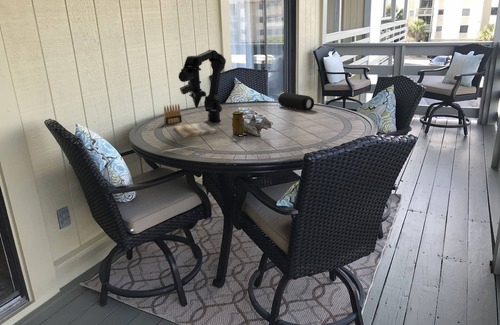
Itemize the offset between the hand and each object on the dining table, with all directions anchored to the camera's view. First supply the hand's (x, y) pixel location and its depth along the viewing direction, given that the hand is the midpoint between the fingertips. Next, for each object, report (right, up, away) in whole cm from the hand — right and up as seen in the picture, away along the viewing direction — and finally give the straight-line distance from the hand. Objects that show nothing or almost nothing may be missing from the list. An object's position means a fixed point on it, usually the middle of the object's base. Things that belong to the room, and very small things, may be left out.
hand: (196, 107), depth 229 cm
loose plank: (+4, -13, -4) cm, 14 cm away
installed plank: (-4, -15, -8) cm, 17 cm away
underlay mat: (-1, -15, -6) cm, 16 cm away
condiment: (+24, -17, -12) cm, 32 cm away
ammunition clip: (-16, -9, +14) cm, 23 cm away
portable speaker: (+61, +5, +46) cm, 77 cm away
